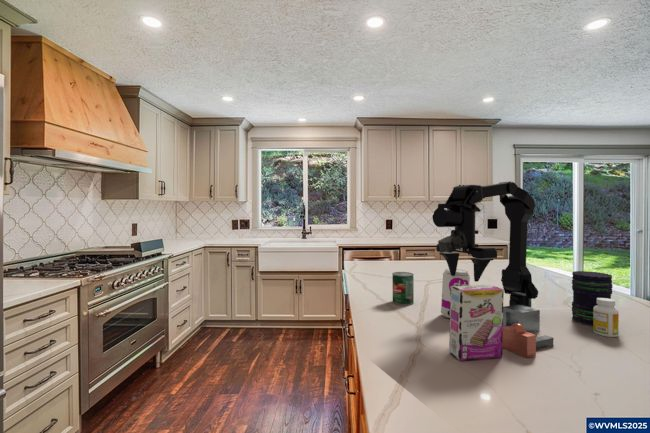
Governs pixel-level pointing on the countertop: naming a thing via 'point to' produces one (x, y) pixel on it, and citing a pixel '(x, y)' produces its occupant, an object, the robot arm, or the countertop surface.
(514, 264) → the robot arm
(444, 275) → the supplement can
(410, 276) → the canned tomato
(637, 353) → the countertop surface
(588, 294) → the storage jar
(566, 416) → the countertop surface
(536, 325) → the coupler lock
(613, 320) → the supplement bottle
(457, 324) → the candy bar box
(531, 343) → the coupler rail
